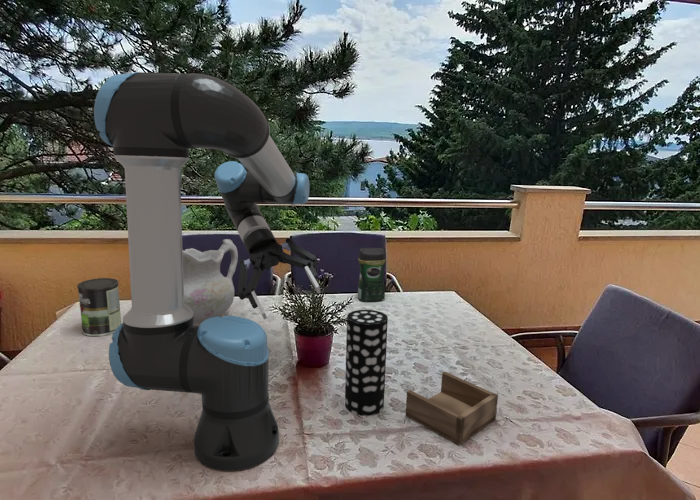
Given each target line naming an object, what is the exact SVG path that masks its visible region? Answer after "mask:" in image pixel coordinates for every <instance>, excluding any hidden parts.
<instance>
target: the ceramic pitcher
mask: <svg viewBox="0 0 700 500" xmlns="http://www.w3.org/2000/svg"><path fill="white" fill-rule="evenodd" d="M227 252H229V253H230V257H231V261H230V264H229V268H228V270H227V275H226V276H224V275H223V274H222V273H221V263H222V260H223V257H224V255H225V254H226V253H227ZM238 253H239V252H238V247H237V246H236V245H235V243H233V239H232V240H231V239H230V238H225V239H224V238H223V240H222V241H221V246H220V247H219V249H217V250H215V249H214V250H213V249H209V250H205V251H201V250H198V249H195V248H193V247H190V248H186V249H183V280H184V304H185V305H186V306H187V307H188V308H190V309H191V310H192V311H193V317H194V325H195V326H200V324H201V323H202V322H203V321H205V320H207V319H209V318H212V317H217V316H219V317H222V316H224V314H225V313H226V312H227V311H229V309H230V308H231V306H232V304H233V302H234V299H235V287H234V282H233V276H234V274H235V272H236V269H237V265H238V263H239V254H238Z"/></svg>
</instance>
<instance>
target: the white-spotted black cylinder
mask: <svg viewBox="0 0 700 500" xmlns="http://www.w3.org/2000/svg"><path fill="white" fill-rule="evenodd" d="M388 317H389V316H388V315H387V314H386V313H384V312H382V311H379V310H374V309H357V310H353V311H350V312H349V313H348V314H347V315H346V337H345V338H346V342H345V346H346V348H345V350H346V351H345V384H344V385H345V386H344V387H345V389H344V407H345V408H346V410H347V411H348V412H350V413H351V414H353V415H356V416H362V417H369V416H370V417H371V416H374V415H378V414H380V413H381V412H382V411H383V410H384V407H385V389H386V388H385V385H386V367H387V365H386V363H387V342H388V341H387V340H388V323H389V322H388V321H389V320H388Z"/></svg>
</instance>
